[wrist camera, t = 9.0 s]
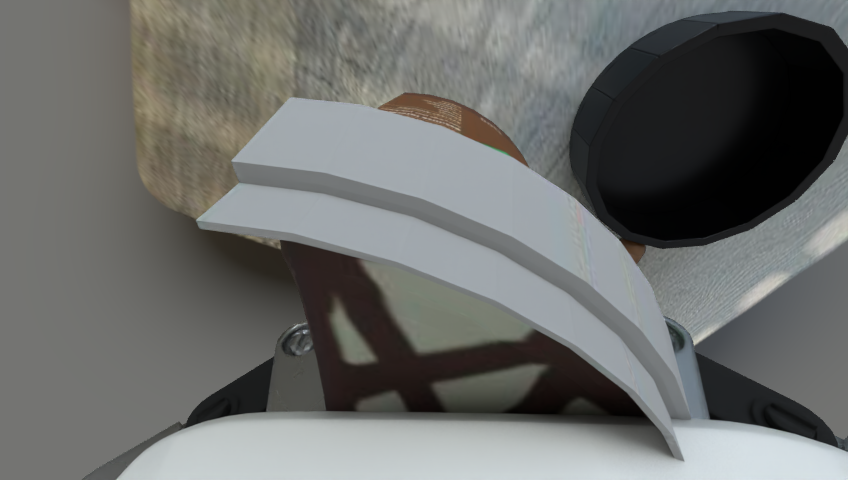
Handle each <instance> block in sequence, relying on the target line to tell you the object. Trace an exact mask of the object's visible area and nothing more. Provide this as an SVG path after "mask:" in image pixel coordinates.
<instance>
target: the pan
mask: <svg viewBox="0 0 848 480" xmlns="http://www.w3.org/2000/svg"><path fill="white" fill-rule="evenodd" d="M847 135H848V48H847V47H846V45H845V44H844V43H843V41H842V40H841V39H840V37H839V36H838V34H837V33H836V32H835V30H834V29H832V28H831V27H829V26H826V25H822V24H819V23H816V22H812V21H809V20H805V19H802V18H799V17H795V16H792V15H789V14H785V13H777V12H750V11H728V12H722V13H712V14H702V15H697V16H692V17H688V18H684V19H681V20H678V21H675V22H673V23H670V24H667V25H665V26H663V27H661V28H659V29H657V30H655V31H653V32H651V33H649V34H647V35H646V36H644V37H642V38H641V39H639V40H638V41H636V42H635V43H633V44H632V45H631V46H629V47H628V48H627V49H625V50H624V51H623V52H622V53H620V54H619V55H618V56H617V57H616V58H615V59H614V60H613V61H612V62H611V63H610V64H609V65H608V66H607V67H606V68H605V69H604V70H603V72H602V73H601V74H600V75H599V76H598V77H597V79H596V80H595V81H594V83H593V84H592V86H591V87H590V89H589V90H588V92H587V93H586V95H585V97H584V99H583V101H582V103H581V104H580V107H579V109H578V112H577V114H576V117H575V119H574V123H573V127H572V130H571V137H570V161H571V167H572V170H573V173H574V176H575V178H576V180H577V182H578V184H579V186H580V188H581V191H582V193H583V195H584V196H585V198H586V200H587V201H588V203H589V204H590V206H591V207H592V209H593V211H594V212H595V214H596V215H597V217H598V218H599V220H601V221H602V222H603V223H604V224H606V225H607V226H608V227H610V228H611V229H612V230H613V231H615V232H616V233H617V234H618V235H620V236H621V237H622V238H621V239H620V240H619V241H620V242H621V243H622V244H623V246H624V247H625V249H626V250H627V252H628V253H629V254H630V256H631V257H632V259H633V260H634V262H635V263H636V264H637V263H638V262H639V260H640V259H641V258H642V256H643V255H644V253H645V251H646V245H649V246H653V247H657V248H662V249H666V248H679V247H692V246H704V245H707V244H710V243H713V242H716V241H719V240H722V239H725V238H728V237H730V236H733V235H736V234H739V233H742V232H745V231H748V230H750V229H752V228H754V227H756V226H757V225H759V224H760V223H762V222H763V221H765V220H767V219H768V218H770V217H771V216H773V215H775V214H776V213H778V212H779V211H781V210H782V209H784V208H786V207H787V206H789V205H790V204H792V203H793V202H795V200H797V199H798V198H799V197H800V196H801V195H802V194H803V193H804V192H805V191H806V190H807V189H808V188H809V187H810V186H811V185H812V184H813V183H814V182H815V181H816V180H817V179H818V178H819V177H820V175H821V174H822V173H823V172H824V171H825V170H826V169H827V168H828V167H829V166H830V165H831V164H832V163H833V162H834V161H833V160H835V159H836V157H837V155H838V153H839V151H840V149H841V147H842V145H843V143H844V141H845V139H846V137H847Z"/></svg>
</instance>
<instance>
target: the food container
mask: <svg viewBox="0 0 848 480" xmlns="http://www.w3.org/2000/svg"><path fill="white" fill-rule="evenodd" d="M231 162H232V165H233V167H234V170H235V173H236V175H237V178H238V180H239V184H237V185H236V186H235V187H234V188H233V189H232V190H230V191H229V192H228V193H227V194H226V195H225V196H224V197H222V198H221V199H220V200H219V201H218V202H217V203H215V204H214V205H213V206H212V207H211V208H210V209H209V210H207V211H206V212H205V213H204V214H203V215H202V216H200V217H199V218H198V219H197V220H196V222H197V224H198V226H199V228H200V229H207V230H214V231H221V232H228V233H235V234H243V235H250V236H257V237H264V238H272V239H279V240H280V243H281V251H282V256H283V258H284V259H285V261H286V263H287V265H288V267H289V269H290V271H291V273H292V275H293V278H294V280H295V283H296V286H297V289H298V292H299V295H300V297H301V300H302V303H303V307H304V311H305V315H306V319H307V323H308V327H309V331H310V335H311V339H312V342H313V346H314V350H315V354H316V358H317V363H318V368H319V373H320V379H321V384H322V389H323V394H324V400H325V407H326V411H354V412H442V413H507V414H559V415H608V416H642V417H649V419H650V420H651V421H652V422H653V423H654V424H655V425H656V427H657V428H658V429H659V430H660V431H661V433H662V435H663V437H664V439H665V441H666V442H667V444H668V446H669V448H670V450H671V452H672V454H673V456H674V458H675V459H678V460H681V461H684V458H683V455H682V452H681V449H680V447H679V444H678V441H677V438H676V435H675V432H674V430H673V427H672V422H671V419H684V420H691V415H690V411H689V407H688V403H687V399H686V396H685V392H684V388H683V384H682V380H681V377H680V373H679V369H678V365H677V362H676V358H675V354H674V350H673V346H672V343H671V339H670V335H669V331H668V328H667V325H666V323H665V320H664V317H663V315H662V312H661V310H660V307H659V304H658V302H657V299H656V297H655V294H654V291H653V289H652V286H651V285H650V283H649V282H648V280H647V279H646V278H645V276H644V275H643V273H642V272H641V270H640V269H639V267H638V266H637V265H636V263H635V262H634V260H633V259H632V257H631V256H630V254H629V253H628V252H627V250H626V249H625V247H624V246H623V244H622V243H621V242H620V241H619V240H618V239H617V238H616V237H615V236H614V235H613V234H612V233H611V232H610V231H609V230H608V229H607V228H606V227H605V226H604V225H602V224H601V223H600V222H599V221H598V220H597V219H596V218H595V217H594V216H593V215H592V214H591V213H590V212H589V211H588V210H587V209H586V208H585V207H584V206H583V205H581V204H580V203H579V202H578V201H577V200H576V199H575V198H574V197H572V196H571V195H569V194H568V193H566V192H565V191H563V190H562V189H560V188H559V187H557V186H556V185H554V184H552V183H551V182H549V181H548V180H546V179H545V178H543V177H542V176H540V175H539V174H537V173H536V172H534V171H533V170H531V169H530V168H529V166H528V164H527V163H526V161H525V159H524V157H523V156H522V154H521V152H520V151H519V150H518V148H517V147H516V146H515V145H514V143H513V142H512V141H511V139H510V138H509V137H508V136H507V135H506V134H505V133H504V132H503V131H502V130H501V129H499V128H498V127H497V126H496V125H495V124H494V123H493V122H492V121H490V120H489V119H487V118H485V117H484V116H482V115H481V114H479V113H478V112H476V111H475V110H473V109H471V108H468V107H466V106H464V105H462V104H459V103H457V102H455V101H452V100H448V99H445V98H441V97H437V96H433V95H428V94H417V93H406V92H405V93H403V94H401V95H400V96H398V97H396V98H394V99H392V100H391V101H389V102H387V103H385V104H383V105H382V106H380V107H378V108H372V107H368V106H364V105H359V104H350V103H340V102H331V101H321V100H312V99H302V98H293V97H290V98H289V99H288V100H287V101H286V102H285V103H284V105H283V106H282V107H281V108H280V109H279V110H278V111H277V112H276V113H275V114H274V115H273V116H272V118H271V119H270V120H269V121H268V122H267V123H266V124H265V125H264V126H263V127H262V128H261V129H260V130H259V132H258V133H257V134H256V135H255V136H254V137H253V138H252V139H251V140H250V141H249V142H248V143H247V145H246V146H245V147H244V148H243V149H242V150H241V151H240V152H239V153H238V154H237V155H236V156H235V157H234V159H233V160H232V161H231ZM684 462H685V461H684Z"/></svg>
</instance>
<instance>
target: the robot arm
mask: <svg viewBox="0 0 848 480" xmlns="http://www.w3.org/2000/svg"><path fill="white" fill-rule="evenodd" d="M663 317H664V320H665V323H666V325H667V328H668V331H669V335H670V339H671V343H672V346H673V350H674V354H675V358H676V362H677V365H678V369H679V373H680V377H681V380H682V384H683V388H684V392H685V396H686V399H687V403H688V407H689V411H690V415H691V420H684V419H671V422H672V427H673V430H674V432H675V435H676V438H677V441H678V444H679V447H680V449H681V452H682V455H683V458H684V461H685V462H684V461H681V460H678V459H675V458H674V456H673V454H672V452H671V450H670V448H669V446H668V444H667V442H666V441H665V439H664V437H663V435H662V433H661V431H660V430H659V429H658V428H657V427H656V425H655V424H654V423H653V422H652V421H651V420H650V419H649V417H642V416H608V415H559V414H507V413H442V412H354V411H326V407H325V400H324V394H323V389H322V384H321V379H320V373H319V368H318V363H317V358H316V354H315V350H314V346H313V342H312V339H311V335H310V331H309V327H308V323H307V320H306V321H302V322H299V323H296V324H295V325H293V326H291V327H289V328H288V329H287V330H286V331H285V332H284V333H283V334H282V335H281V336H280V338H279V339H278V341H277V344H276V348H275V355H274V357H273V358H271V359H269V360H268V361H266V362H264V363H263V364H261V365H259V366H258V367H256V368H255V369H253V370H251V371H250V372H248V373H246V374H245V375H243V376H241V377H240V378H238V379H237V380H235V381H233V382H232V383H230V384H228V385H227V386H225V387H224V388H222V389H220V390H219V391H217V392H215V393H214V394H212V395H211V396H209V397H208V398H206V399H205V400H204V401H202V402H201V403H200V404H199V405H198V406H197V407H196V408H195V409H194V410H193V412H192V413H191V415H190V416H189V418H188V420H187V423H185V424H183V425H182V424H181V423H180V422H177V423H176V424H174V425H172V426H170V427H168V428H167V429H165V430H163V431H161V432H160V433H158V434H156V435H155V436H153V437H151V438H150V439H147V440H146V441H144V442H142V443H140V444H139V445H137V446H135V447H134V448H132V449H130V450H128V451H127V452H125V453H123V454H121V455H120V456H118V457H116V458H114V459H113V460H111V461H109V462H107V463H106V464H104V465H102V466H100V467H99V468H97V469H95V470H94V471H93V472H91V473H90V474H88V475H87V476H85V477H84V478H83V479H82V480H848V437H847V438H845V439H844V440H843V439H841V438H839V437H837V436H835V435H834V434H833V432H832V431H831V429H830V428H829V427H828V426H827V425H826V424H825V423H824V421H823V420H822V419H820V418H819V417H818V416H817V415H815V414H814V413H813V412H812V411H810V410H809V409H807V408H806V407H804V406H802V405H801V404H799V403H797V402H795V401H793V400H791V399H789V398H787V397H785V396H783V395H781V394H779V393H777V392H775V391H773V390H771V389H769V388H767V387H765V386H763V385H761V384H759V383H757V382H755V381H753V380H751V379H748V378H747V377H745V376H743V375H741V374H739V373H737V372H735V371H733V370H731V369H728V368H727V367H725V366H723V365H720V364H718V363H716V362H714V361H712V360H710V359H708V358H706V357H704V356H702V355H700V354H698V353H696V352H695V350H694V344H693V341H692V338H691V336H690V334H689V333H688V332H687V331H686V330H685V328H684V327H683V326H681V325H680V324H678V323H677V322H676V321H674V320H672V319H670V318H668V317H665V316H663Z"/></svg>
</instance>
